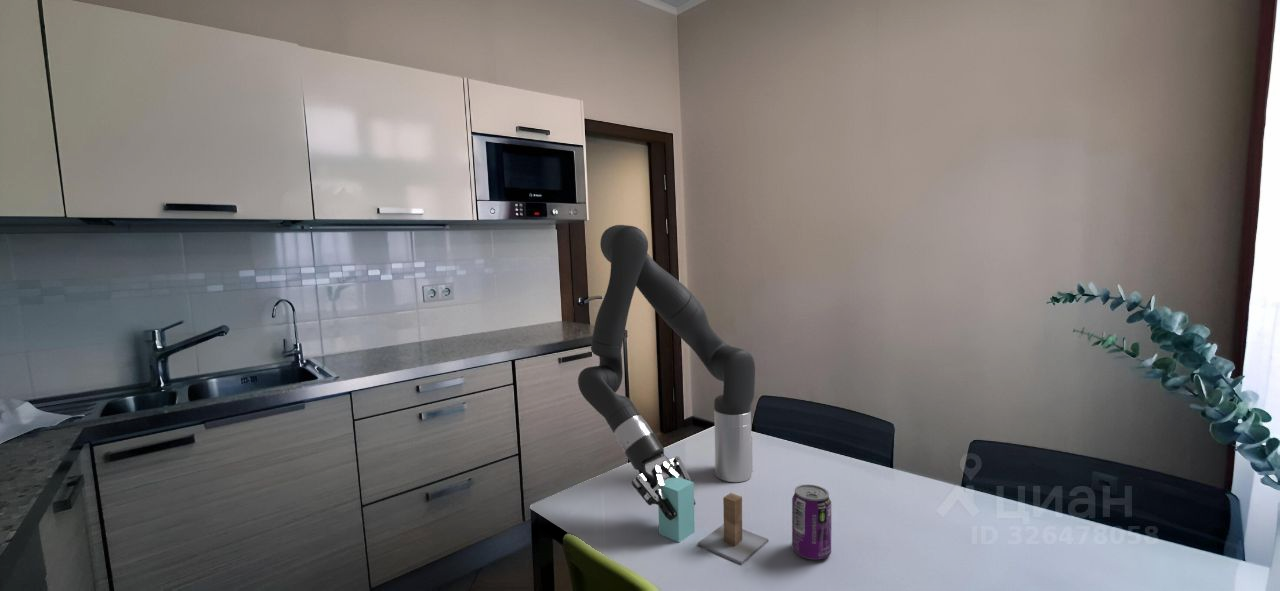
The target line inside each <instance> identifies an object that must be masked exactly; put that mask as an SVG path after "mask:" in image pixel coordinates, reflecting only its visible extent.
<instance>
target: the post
mask: <svg viewBox="0 0 1280 591" xmlns="http://www.w3.org/2000/svg"><path fill="white" fill-rule="evenodd" d="M722 498H723V524H721V525H720V526H719V527H717V528H716V529H715V530H714V531H712V532H710V533H709V534H708V535H707V536H705V537H704V538H702V539H701V540H700V541H698V542H697V546H699V547H700V548H704V549H705V550H707V551H710V552H712V553H714V554H717V555H719V556H721V557H722V558H723V557H724V558H726V559H728V560H730V561H732V562H734V563H737V564H740V565H743V564H744V563H746V562H747V561H748V560H749V559H750V558H751V557H752V556H754V555H755V554H756V553H757V552H759V550H761V549H762V548H763V547H764V546H765V545H767V544H768V543H769V538H767V537H764V536H761V535H758V534H756V533H753V532H752V531H750V530H749V531H748V530H746V529H743V497H742V496H741V495H738V494H735V493H733V492H730V493H728V494H727V495H725V496H724V497H722Z"/></svg>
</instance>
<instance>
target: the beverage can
mask: <svg viewBox="0 0 1280 591" xmlns="http://www.w3.org/2000/svg"><path fill="white" fill-rule="evenodd" d="M791 503H792V504H791V505H792V507H791V508H792V509H791V515H792V516H791V534H792V535H791V547H792V550H793V551H794V552H795V553H796V554H797V555H800V556H801V557H803V558H806V559H808V560H816V561H817V560H822V559H826V558H828V557H830V556H831V554H832V500H831V499H830V492H829V491H828V490H827V489H826V488H824V487H822V486H819V485H815V484H800V485H798V486H796V487H795V488H794V494H793V495H792V500H791Z"/></svg>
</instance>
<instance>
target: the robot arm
mask: <svg viewBox="0 0 1280 591" xmlns="http://www.w3.org/2000/svg"><path fill="white" fill-rule="evenodd" d="M599 242H600V244H599V245H600V251H601V252H602V255H603V257H604V258H605V259H606V261H608V262H609V263H610V274H609V280H608V285H607V288H606V291H605V294H604V297H603V299H602V301H601V303H600V306H599V309H598V312H597V314H596V318H595V321H594V327H593V332H592V339H591V344H590V350H591V353H592V354H593V355H595V356H597V357H599V365H595V366H589V367H588V366H587V367H586V368H583V369H582V370H581V371H580V372H579V374H578V378H577V384H578V389H579V391H580V394H581V395H582V396H583V398H584V399H585V400H586V401H587V402H588V403H589V405H590V406H591V407H592V408H594V410H596V411H597V413H599V414H600V415H601V416H602V417H603V418H604V419H605V420H606V423H607V424H608V426H609V428H610V429H611V431H612V433H613V434H614V436H615V438H616V441H617V443H618V444H619V446H620V448H621V449H622V451H623V452H624V454H625V456H626V457H627V459H628V461H629V462H630V464H631V465H632V467H633V469H634V470H637V471H638V473H639V474H637V476H636V477H634V479H633V480H632V481H631V485H632V486H633V487H634V489H635V490H636V491H637V492H638V494H639V495H640V496H641V498H642V499H643V500H644V501H645V503H646V504H647V505H648V506H652V505H657V506H659V507H660V509H661V510H662V512H663V514H664V515H665V517H666V518H667V519H669V520H670V521H671V520H672V519H674V518H675V517H676V516H677V513H676V511H675V510H674V508H673V506H672V505H671V503H670V502H669V500H668V499H666V496H665V492H664V490H663V485H664V483H663V482H664V481H666V480H668V479H670V478H671V477H672V476H673V477H675V478H677V477H680V478H683V479H686V480H688V481H691V477H690V475H689V474H688V471H687V469H686V467H685V465H684V463H683V461H682V459H681V457H680V456H675V457H674V458H671V459H670V458H668V457H667V456H666V454H665V448H664V447H663V445H662V444H661V442H660V440H659V439H658V437H657V436H656V435H655V433H654V432H653V430H652V429H651V426H650V425H649V424H648V422H647V421H646V420H645V419H644V417H643V416H641V413H640V411H639V410H638V409H637V407H636V406H635V405H634V403H633V402H632V401H631V399H630V398H629V397H628V396H625V395H620V394H618V393H617V392H618V391H619V389H620V387H621V385H622V382H623V373H624V372H623V357H622V347H623V343H624V338H625V333H626V325H627V322H628V316H629V311H630V308H631V303H632V299H633V296H634V294H635V290H636V289H638V291H639V292H640V293H641V294H642V296H643V297H644V298H645V300H646V301H647V302H648V304H650V306H651V307H652V308H653V309H654V311H655V312H656V313H657V314H658V316H659V317H660V318H661V320H663V321H664V322H665V323H666V324H667V326H669V328H670V329H672V330H673V331H674V332H675V334H677V336H678V337H680V339H682V341H684V342H685V344H687V345H688V346H689V347H690V348H691V350H692V351H694V352H695V354H696V356H697V357H698V359H700V361H701V362H702V364H703V365H704V366H705V368H706V369H707V371H708V372H709V373H710V374H711V376H712V377H714V378H715V379H716V380H719V381H720V382H723V391H722V394H721V395H718V396H716V397H715V398H714V402H713V406H714V407H713V409H714V412H713V415H714V421H713V422H714V470H715V471H714V474H715V476H716V478H717V479H719V480H722V481H725V482H729V483H741V482H742V483H743V482H747V481H748V480H750V479H751V478H752V473H753V471H754V470H753V469H754V468H753V436H752V404H753V402H754V398H755V387H756V385H755V383H756V365H755V359H754V357H753V355H752V354H751V353H750V352H749V351H748V350H746V349H742V348H739V347H736V346H735V347H734V346H731V345H729V344H727V343H726V342H725V341H724V340H723V339H722V338H721V337H719V335H718V334H716V332H714V330H713V328H712V327H711V326H710V322H709V319H708V317H707V314H706V311H705V309H704V307H703V306H702V304H701V302H700V301H699V300H698V299H697V298H696V297H695V296H694V295H693V293H692V292H691V291H690V290H689V289H688V288H687V286H685V285H684V284H683V283H682V282H681V281H679V279H677V278H675V277H674V276H673V275H672V274H670V273H669V272H668V271H667V270H665V269H664V268H663V267H661V266H660V265H659V264H658V263H657V262H656V261H655V260H654V259H653V258H652V257H651V256H650V254H649V253H648V251H649V240H648V237H647V235H646V233H645V232H644V231H643V230H642V229H641V228H639V227H636V226H633V225H629V224H628V225H626V224H616V225H613V226H610V227H608V228H606V229H605V231H604V232H602V235H601V237H600V241H599ZM658 493H659V495H658ZM695 505H696V499H695V498H694V506H695ZM659 507H658V508H659Z"/></svg>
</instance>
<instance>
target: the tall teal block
mask: <svg viewBox="0 0 1280 591" xmlns="http://www.w3.org/2000/svg"><path fill="white" fill-rule="evenodd" d="M663 483H664V485H663V490H664V492H665V496H666V499H668V500H669V502H670V503H671V505H672V506H673V508H674V510H675V511H676V513H677V516H676V517H675V518H674V519H672V520H671V521H670V520H669V519H667V518H666V517H665V515H664V514H663V512H662V510H661V509H660V507H659V506H658V505H657V506H658V534H659V535H660V536H664V537H666V538H667V539H670V540H672V541H675V542H677V543H680V542H682V541H684V540H685V539H686V538H688V537H689V536H690V535H692V534H693V533H695V529H696V528H695V505H694V499H695V483H694V481H691V480H690V481H688V480H686V479H684V477H683V478H680V477H677V478H675V477H673V476H672V477H671V478H670V479H668V480H666V481H664V482H663ZM658 495H659V493H658Z"/></svg>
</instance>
